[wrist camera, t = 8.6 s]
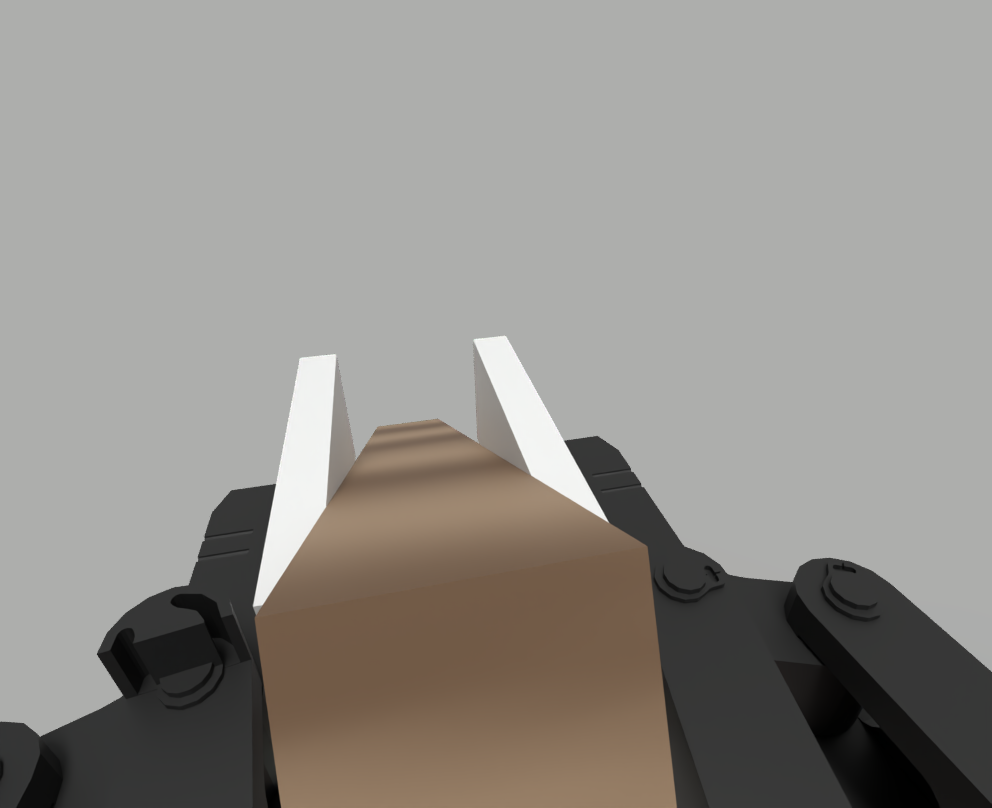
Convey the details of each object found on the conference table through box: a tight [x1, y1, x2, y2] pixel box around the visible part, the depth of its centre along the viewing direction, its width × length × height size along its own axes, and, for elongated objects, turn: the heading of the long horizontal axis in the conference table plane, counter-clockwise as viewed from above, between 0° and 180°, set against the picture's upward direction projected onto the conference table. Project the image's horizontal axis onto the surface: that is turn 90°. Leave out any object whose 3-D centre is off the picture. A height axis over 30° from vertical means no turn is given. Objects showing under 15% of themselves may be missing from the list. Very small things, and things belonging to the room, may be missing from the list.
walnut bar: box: [255, 419, 677, 808], centre depth 16 cm, size 24×3×3 cm, turn 10°
